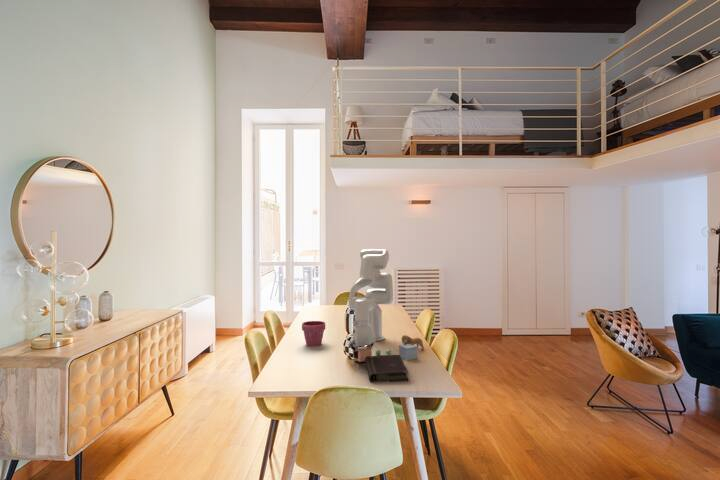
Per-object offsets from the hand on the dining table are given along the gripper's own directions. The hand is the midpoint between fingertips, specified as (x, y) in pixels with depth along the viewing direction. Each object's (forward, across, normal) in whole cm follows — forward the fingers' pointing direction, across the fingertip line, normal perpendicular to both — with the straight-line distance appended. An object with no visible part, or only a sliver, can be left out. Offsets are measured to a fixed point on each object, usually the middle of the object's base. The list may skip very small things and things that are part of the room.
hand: (362, 356), depth 203 cm
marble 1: (+1, +13, +6) cm, 14 cm away
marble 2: (+2, +19, +2) cm, 19 cm away
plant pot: (+2, -8, +43) cm, 44 cm away
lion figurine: (+3, +35, +2) cm, 35 cm away
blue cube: (+2, +24, -8) cm, 25 cm away
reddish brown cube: (+1, 0, 0) cm, 1 cm away
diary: (+3, +1, -20) cm, 21 cm away
